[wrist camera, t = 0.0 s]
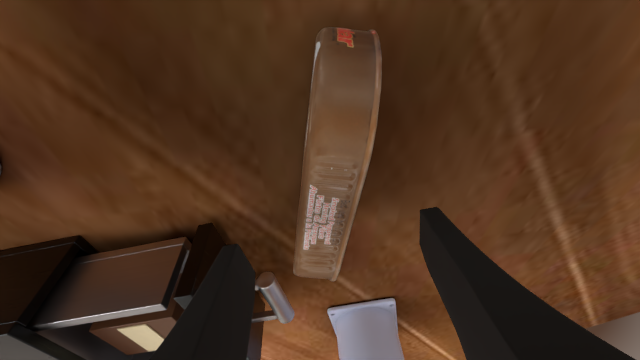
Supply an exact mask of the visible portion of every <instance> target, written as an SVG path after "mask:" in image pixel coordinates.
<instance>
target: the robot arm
mask: <svg viewBox="0 0 640 360" xmlns="http://www.w3.org/2000/svg"><path fill="white" fill-rule="evenodd" d="M420 246H421V249H422V253H423V256H424V259H425V262H426V265H427V268H428V270H429V272H430V274H431V277H432V279H433V281H434V283H435V285H436V288H437V290H438V292H439V294H440V296H441V299H442V301H443V303H444V305H445V307H446V309H447V312H448V314H449V316H450V318H451V320H452V322H453V325H454V327H455V329H456V332H457V334H458V337H459V340H460V342H461V345H462V348H463V351H464V354H465V356H466V359H467V360H635V359H634V358H632V357H630V356H629V355H627V354H625V353H623V352H622V351H620V350H618V349H617V348H615V347H613V346H612V345H610V344H608V343H607V342H605V341H603V340H602V339H600V338H598V337H597V336H595V335H594V334H592V333H591V332H589V331H588V330H586V329H585V328H583V327H581V326H580V325H578V324H577V323H575V322H574V321H572V320H571V319H569V318H568V317H566V316H565V315H563V314H561V313H560V312H558V311H557V310H555V309H554V308H553V307H551V306H550V305H548V304H547V303H546V302H544V301H543V300H541V299H540V298H539V297H537V296H536V295H534V294H533V293H532V292H530V291H529V290H528V289H526V288H525V287H524V286H522V285H521V284H520V283H519V282H517V281H516V280H515V279H513V278H512V277H511V276H510V275H509V274H507V273H506V272H505V271H504V270H502V269H501V268H500V267H499V266H498V265H497V264H495V263H494V262H493V261H492V260H491V259H490V258H488V257H487V256H486V255H485V254H484V253H483V252H482V251H481V250H480V249H479V248H478V247H476V246H475V245H474V244H473V243H472V242H471V241H470V240H469V239H468V238H467V237H466V236H465V235H464V234H463V233H462V232H461V231H460V230H459V229H458V228H457V227H456V226H455V225H454V224H453V223H452V222H451V221H450V220H449V219H448V218H447V217H446V216H445V214H444V213H443V212H442V211H441V210H440V209H439V208H437V207H433V208H428V209H423V210H420ZM254 301H255V271H254V269H253V268H252V266H251V264H250V263H249V261H248V260H247V258H246V256H245V255H244V253H243V251H242V250H241V248H240V246H239V245H238V244H233V245H227V246H223V247H222V249H221V251H220V252H219V254H218V256H217V257H216V259H215V261H214V263H213V264H212V266H211V268H210V270H209V271H208V273H207V275H206V276H205V278H204V280H203V281H202V283H201V285H200V286H199V288H198V290H197V291H196V293H195V295H194V296H193V298H192V300H191V301H190V303H189V304H188V306H187V307H186V309H185V310H184V312H183V313H182V315H181V316H180V318H179V319H178V321H177V322H176V324H175V325H174V327H173V328H172V330H171V331H170V332H169V334H168V335H167V337H166V338H165V339H164V341H163V342H162V343H161V345H160V346H159V347H158V349H157V350H156V351H155V352H154V354H153V355H152V356H151V358H150V359H149V360H246V359H247V351H248V344H249V337H250V330H251V323H252V316H253V308H254ZM327 311H328V315H329V318H330V320H331V323H332V325H333V328H334V330H335V333H336V335H337V342H338V352H339V360H404V356H403V352H402V348H401V344H400V340H399V336H398V326H397V314H396V302H395V299H394V298H388V299H382V300H375V301H369V302H363V303H357V304H351V305H344V306H338V307H332V308H329V309H328V310H327Z"/></svg>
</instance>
